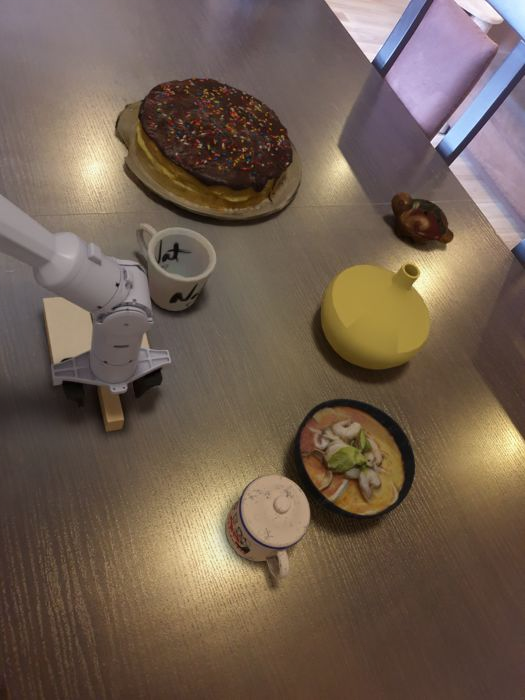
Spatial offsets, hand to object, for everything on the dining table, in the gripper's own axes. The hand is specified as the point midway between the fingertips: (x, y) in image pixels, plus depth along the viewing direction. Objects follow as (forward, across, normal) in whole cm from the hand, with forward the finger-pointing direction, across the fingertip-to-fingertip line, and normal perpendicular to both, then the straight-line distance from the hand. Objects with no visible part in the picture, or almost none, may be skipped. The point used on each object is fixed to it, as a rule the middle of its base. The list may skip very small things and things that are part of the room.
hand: (108, 396), depth 78 cm
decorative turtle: (+2, +68, +28) cm, 73 cm away
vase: (+2, +44, +4) cm, 44 cm away
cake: (+2, +30, +50) cm, 58 cm away
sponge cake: (+2, 0, +10) cm, 10 cm away
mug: (+2, +12, +20) cm, 23 cm away
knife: (+2, 0, +5) cm, 5 cm away
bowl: (+2, +30, -18) cm, 34 cm away
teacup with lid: (+2, +16, -24) cm, 28 cm away
